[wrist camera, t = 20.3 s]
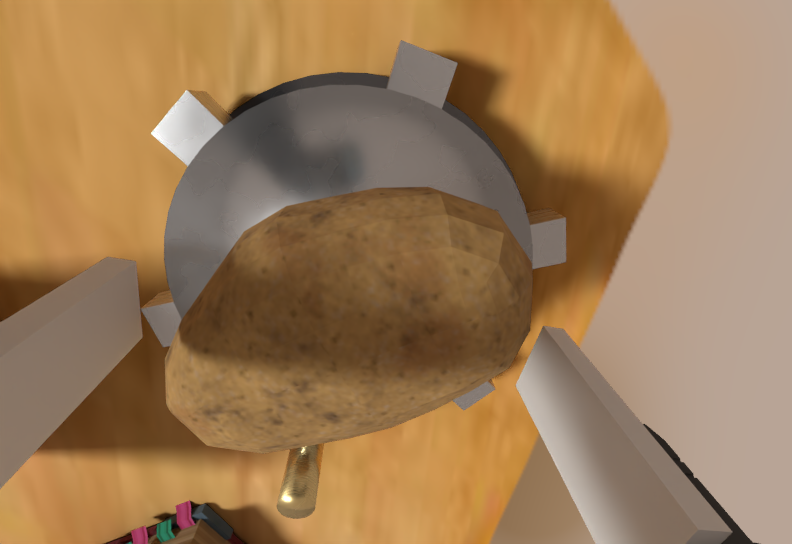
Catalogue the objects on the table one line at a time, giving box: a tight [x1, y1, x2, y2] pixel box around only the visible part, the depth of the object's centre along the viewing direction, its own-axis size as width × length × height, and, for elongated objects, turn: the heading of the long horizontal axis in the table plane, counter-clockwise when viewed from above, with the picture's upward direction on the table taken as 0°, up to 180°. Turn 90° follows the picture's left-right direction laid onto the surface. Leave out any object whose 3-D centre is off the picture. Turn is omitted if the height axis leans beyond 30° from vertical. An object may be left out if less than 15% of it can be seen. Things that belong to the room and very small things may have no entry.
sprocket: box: [141, 40, 566, 519], centre depth 17 cm, size 21×20×7 cm
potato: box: [165, 187, 533, 454], centre depth 14 cm, size 10×14×8 cm
